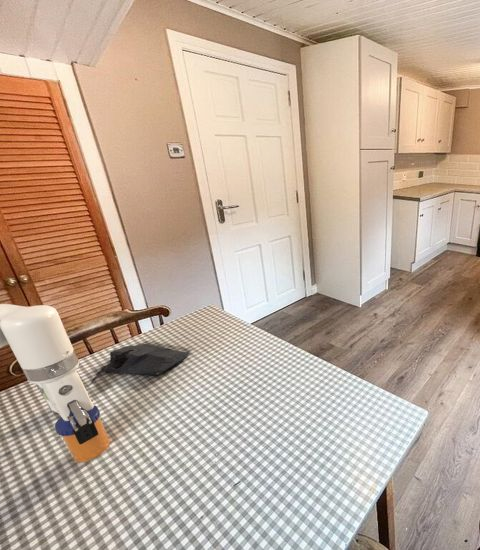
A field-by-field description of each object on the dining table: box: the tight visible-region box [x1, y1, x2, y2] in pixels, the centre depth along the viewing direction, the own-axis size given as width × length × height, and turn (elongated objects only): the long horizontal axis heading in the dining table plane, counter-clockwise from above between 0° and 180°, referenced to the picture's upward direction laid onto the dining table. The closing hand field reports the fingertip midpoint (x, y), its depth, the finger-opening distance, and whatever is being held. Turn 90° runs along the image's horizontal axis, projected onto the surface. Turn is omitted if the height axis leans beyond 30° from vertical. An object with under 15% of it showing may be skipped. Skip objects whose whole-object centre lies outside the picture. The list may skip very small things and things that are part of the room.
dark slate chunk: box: [101, 343, 190, 376], centre depth 98 cm, size 15×22×5 cm
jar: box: [61, 417, 111, 463], centre depth 68 cm, size 6×6×9 cm
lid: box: [54, 404, 101, 437], centre depth 66 cm, size 7×7×2 cm
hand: (81, 428), depth 67 cm, fingers open, 9 cm apart
